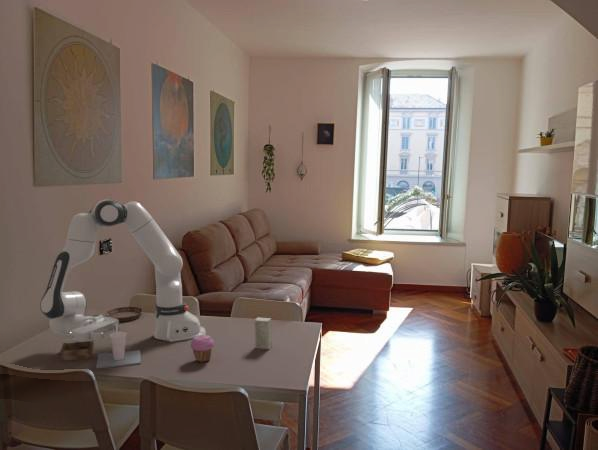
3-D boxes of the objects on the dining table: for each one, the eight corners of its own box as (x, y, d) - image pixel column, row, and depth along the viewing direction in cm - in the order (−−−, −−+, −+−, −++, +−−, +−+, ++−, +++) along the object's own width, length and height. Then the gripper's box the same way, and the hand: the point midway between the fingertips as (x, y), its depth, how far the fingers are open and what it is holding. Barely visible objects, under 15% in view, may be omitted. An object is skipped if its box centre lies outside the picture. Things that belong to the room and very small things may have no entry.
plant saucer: (122, 325, 249) (122, 318, 248) (97, 319, 258) (97, 313, 258) (150, 315, 264) (150, 310, 263) (126, 310, 273) (126, 304, 273)
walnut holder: (94, 348, 217) (93, 339, 217) (91, 357, 207) (91, 349, 206) (64, 350, 214) (63, 342, 214) (60, 361, 203) (59, 352, 203)
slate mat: (140, 351, 214) (140, 350, 214) (140, 364, 200) (140, 362, 200) (98, 355, 209) (98, 354, 209) (96, 368, 196) (95, 367, 196)
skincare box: (272, 346, 220) (272, 318, 218) (268, 349, 216) (268, 321, 214) (258, 344, 222) (257, 316, 220) (254, 348, 217) (254, 319, 216)
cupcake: (218, 360, 204) (217, 335, 203) (199, 366, 198) (198, 340, 197) (205, 354, 210) (205, 330, 209) (186, 359, 205) (186, 335, 203)
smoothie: (115, 354, 208) (114, 320, 207) (130, 355, 207) (129, 321, 205) (106, 360, 202) (105, 325, 200) (122, 361, 201) (121, 326, 199)
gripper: (63, 327, 200) (90, 332, 195) (102, 313, 219) (128, 317, 213) (63, 343, 201) (91, 348, 196) (103, 328, 220) (129, 332, 214)
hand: (111, 332), depth 205 cm, fingers open, 8 cm apart
